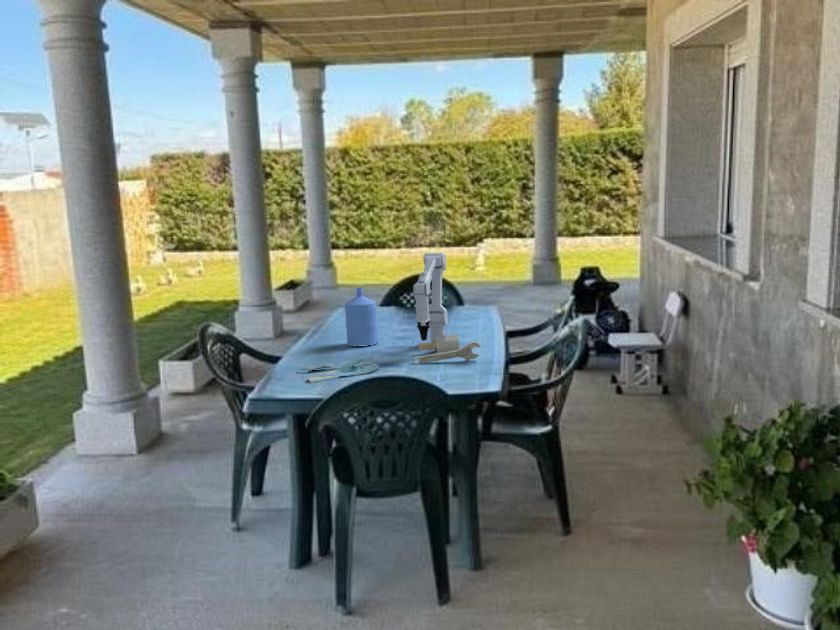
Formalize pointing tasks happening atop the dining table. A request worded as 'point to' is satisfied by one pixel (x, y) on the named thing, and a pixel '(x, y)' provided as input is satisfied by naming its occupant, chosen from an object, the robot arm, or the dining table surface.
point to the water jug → (361, 320)
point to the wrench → (451, 354)
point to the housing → (447, 343)
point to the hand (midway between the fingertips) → (424, 338)
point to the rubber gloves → (344, 368)
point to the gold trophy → (428, 346)
